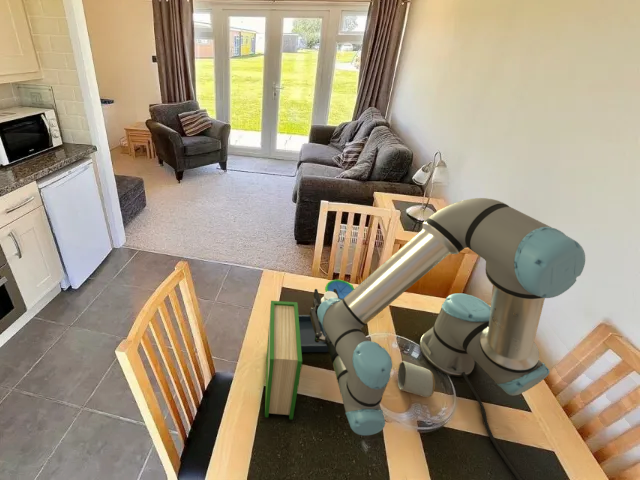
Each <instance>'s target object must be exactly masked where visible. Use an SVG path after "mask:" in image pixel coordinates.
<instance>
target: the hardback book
mask: <svg viewBox="0 0 640 480" xmlns="http://www.w3.org/2000/svg"><path fill="white" fill-rule="evenodd" d="M299 315H300V314H299V305H298V302H297V301H296V302H295V301H285V300H284V301H281V300H270V309H269V321H268V334H267V345H266V359H265V360H266V361H265V363H266V364H265V398H264V399H265V401H264V402H265V403H264V418H269V414H273V415H285V416H288V420H294V415H295V408H296V402H297V395H298V390H299V385H300V377H301V371H302V365H303V354H302V353H303V352H301V340H300V328H299Z"/></svg>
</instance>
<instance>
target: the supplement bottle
mask: <svg viewBox="0 0 640 480" xmlns="http://www.w3.org/2000/svg"><path fill="white" fill-rule="evenodd" d="M329 298H338V296H337V294H336V293H334V292H332V291H327V292H326V291H325V292H324V294H323V296H322V297H321V298H320V301H321V303H322V302H323V301H325V300H329ZM318 320H319V319H318Z"/></svg>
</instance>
